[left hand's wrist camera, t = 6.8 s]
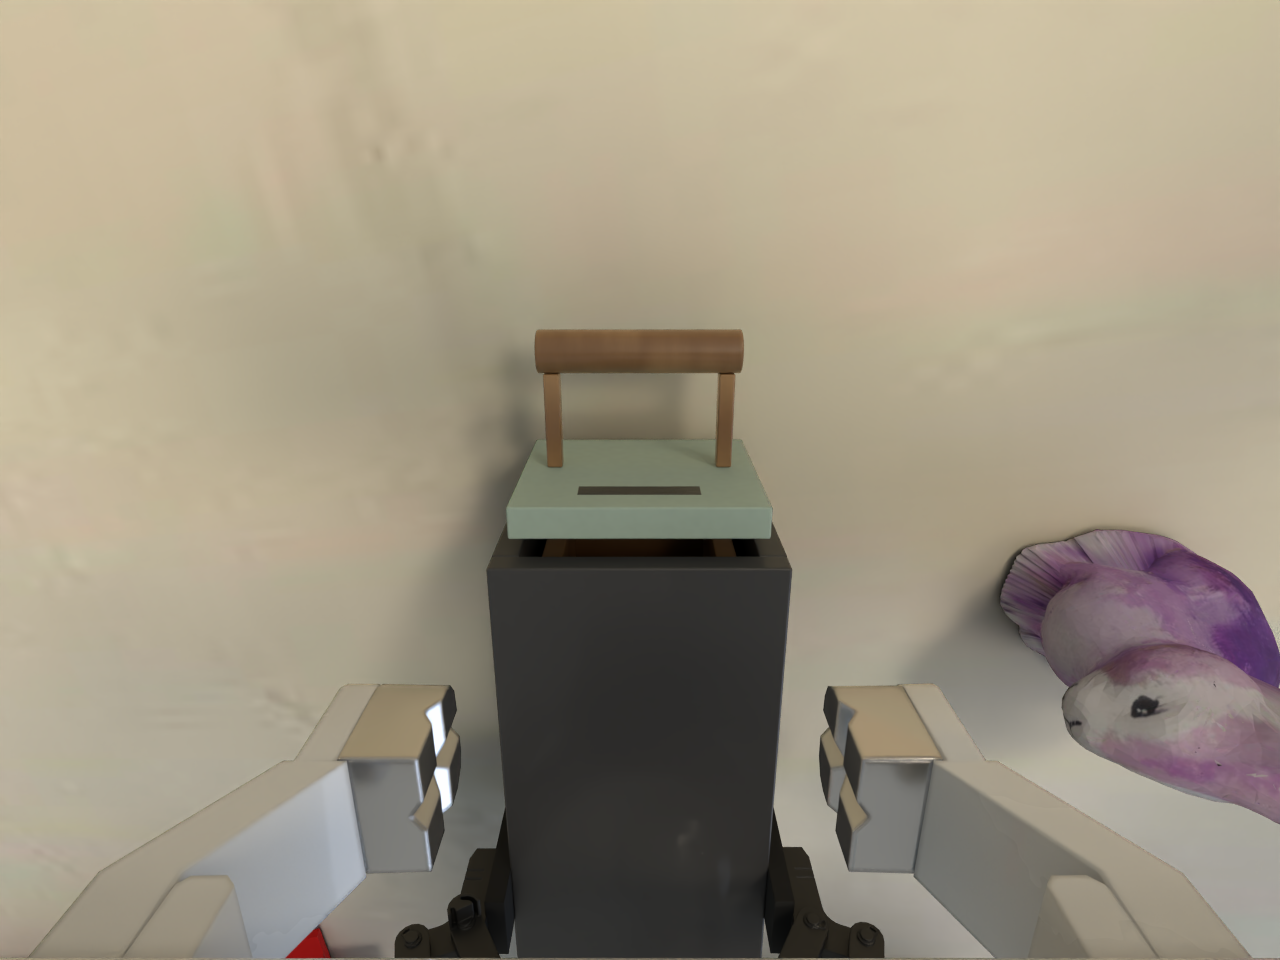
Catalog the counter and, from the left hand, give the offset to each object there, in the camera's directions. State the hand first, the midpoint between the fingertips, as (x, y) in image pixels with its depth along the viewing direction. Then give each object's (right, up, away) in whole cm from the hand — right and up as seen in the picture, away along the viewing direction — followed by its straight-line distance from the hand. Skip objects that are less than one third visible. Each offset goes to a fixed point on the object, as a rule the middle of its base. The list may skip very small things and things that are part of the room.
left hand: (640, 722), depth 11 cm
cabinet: (0, -5, +27) cm, 27 cm away
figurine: (+22, -2, +26) cm, 34 cm away
